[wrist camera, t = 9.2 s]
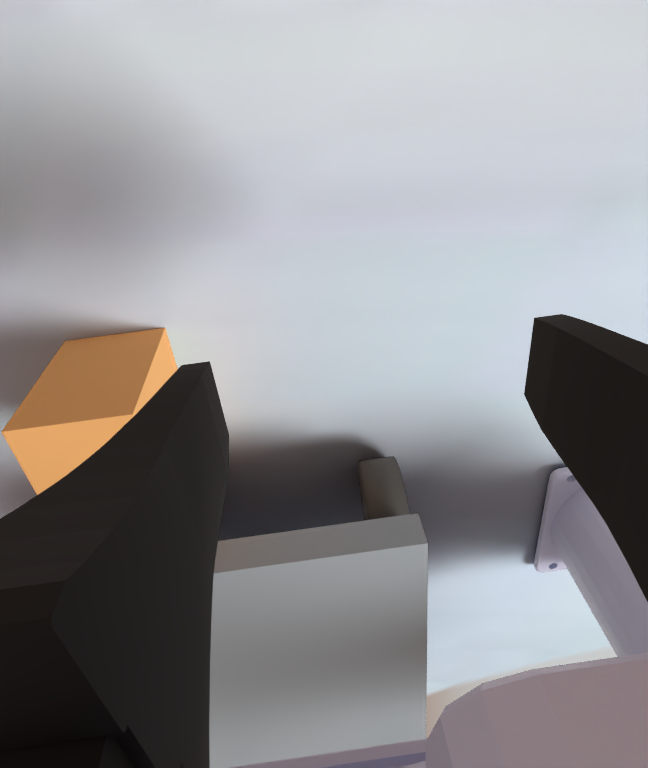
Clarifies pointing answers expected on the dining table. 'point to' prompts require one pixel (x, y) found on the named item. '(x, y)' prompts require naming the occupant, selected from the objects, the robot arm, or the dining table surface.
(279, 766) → the robot arm
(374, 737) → the toy platform cart
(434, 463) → the dining table surface
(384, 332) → the dining table surface
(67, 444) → the orange block
